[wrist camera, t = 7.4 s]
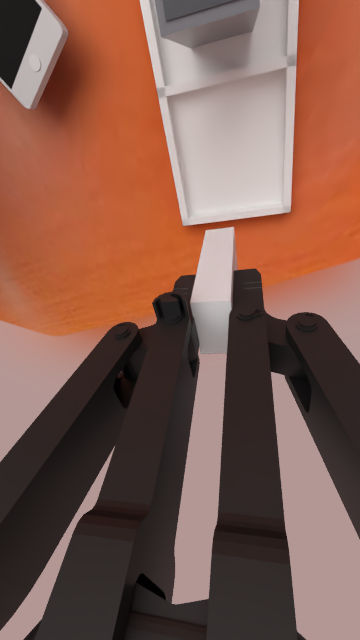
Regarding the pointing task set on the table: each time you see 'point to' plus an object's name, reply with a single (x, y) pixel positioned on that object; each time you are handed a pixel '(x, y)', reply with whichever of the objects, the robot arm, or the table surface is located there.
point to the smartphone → (29, 47)
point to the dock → (226, 102)
